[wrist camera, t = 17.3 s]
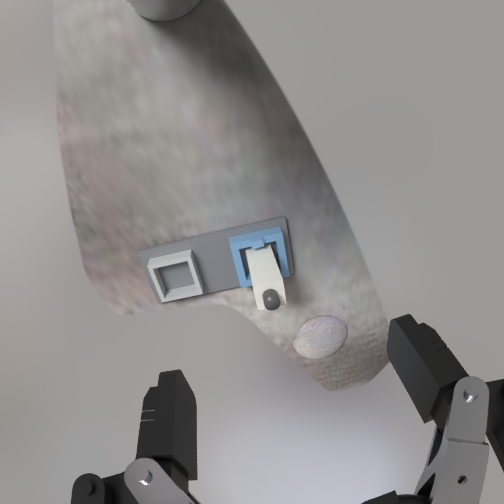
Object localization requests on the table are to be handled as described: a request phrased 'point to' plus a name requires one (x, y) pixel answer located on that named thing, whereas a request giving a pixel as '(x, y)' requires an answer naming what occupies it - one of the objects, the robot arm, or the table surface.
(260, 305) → the white knobbed square peg
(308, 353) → the seashell
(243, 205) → the table surface
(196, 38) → the table surface
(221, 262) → the socket
